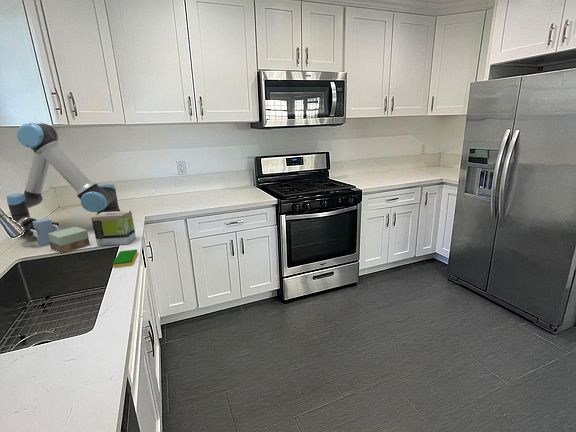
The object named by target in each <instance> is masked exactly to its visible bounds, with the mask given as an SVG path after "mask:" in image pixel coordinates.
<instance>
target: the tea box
mask: <svg viewBox="0 0 576 432" xmlns="http://www.w3.org/2000/svg"><path fill="white" fill-rule="evenodd" d="M90 219H91V223H92V228H93V233H94V236H95V237H94V238H95V241H96V246H115V245H128V244H130V243H131V242H133V241H134V240H135V239H136V238H137V237H136V229H135V225H134V224H135V223H134V219H133V213H132V211H131V210H120V211H116V212H101V213H99V214H97V213H96V215H93V216H91V217H90Z"/></svg>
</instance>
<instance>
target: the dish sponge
mask: <svg viewBox="0 0 576 432" xmlns="http://www.w3.org/2000/svg"><path fill="white" fill-rule="evenodd" d="M138 255H139V253H138V249H130V250H129V249H128V250H120V251H119V252H118V254H117V255H116V257H115V259H114V260H113V262H112V267H113V269H115V268H116V269H117V268H123V267H130V266H133V265H134V262H135V261H136V258H137V256H138Z"/></svg>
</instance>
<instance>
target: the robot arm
mask: <svg viewBox="0 0 576 432" xmlns="http://www.w3.org/2000/svg"><path fill="white" fill-rule="evenodd" d="M16 138H17V140H18V141H19V143H20V144H21V145H22V146H24V147H27V148H29V149H31V150H32V151H33V152H34V154H33V156H32V157H33V158H32V162H31V166H30V168H29V169H30V170H29V173H28V177H27V180H26V181H27V182H26V184H25V188H24V191H23V192H24V193H21V192H18V193H12V194H7V196H6V203H7V206H8V209H9V213H10V215H11V216H12V217H11V219H12V218H13V220H15V221H16V222H17V223H19V224H20V225H21V226H22V227H23V229H24V231H25V232H24V234H23V235H22V234H21V235H22V237H26V236H27V237H32V236H33V237H39V236H38V233H37V231H35V230H34V227H33V223H32V221H36V220H37V219H36V218H34V217H31V216H30V210H29V209H30V208H33V207H35V206H38V205H40V204H41V203H42V202H43V200H44V198H43V194H42V192H43V189H44V185H45V181H46V178H47V173H48V170H49V166H50V165H51V166H52V167H53V168H54V170H55V171H57V172H58V173H59V175H61V177H62V178H63V179H64V180H65V181H66V182H67V183H68V184H69V185H70V186H71V187H72V188H73V189H74V191H76V197H78V199H79V200H80V205H81V206H82V208H83V209H84V210H85V211H87V212H90V213H96V215H97V214H99V213H101V212H116V211H121V209H120V208H119V201H118V195H117V191H116V190H117V189H116V187H115V184H114V183H109V184H98V183H96V182H92V181H91V180H90V179H89V178H88V177H87V175H85V174H84V173H83V171H82V170H81V169H80V168H79V167H78V166H77V165H76V164H75V163H74V162H73V161H72V160H71V158H70V157H69V156H67V155H66V153H65V152H64V151H63V150H62V149H61V148H60V147H59V146H58V144H59V135H58V133H57V131H56V129H55V128H54V127H53V126H52V125H50V124H48V123H42V122H41V123H35V122H29V123H23V124H21V125H20V126H19V127H18V129H17V131H16ZM52 224H53V228H54V232H56V231H60V224H59V222H55V221H52Z"/></svg>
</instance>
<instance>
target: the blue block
mask: <svg viewBox="0 0 576 432" xmlns="http://www.w3.org/2000/svg"><path fill="white" fill-rule="evenodd" d="M52 222H53V220H52V219H51V218H41V219H36V221H32V223H33V227H34V230H35V231H37V233H38V236H39V237H36V241H37V245H39V246H41V247H46V246H49V245H50V240H49V236H48V233H52V232H55V231H54V228H53V224H52Z"/></svg>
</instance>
